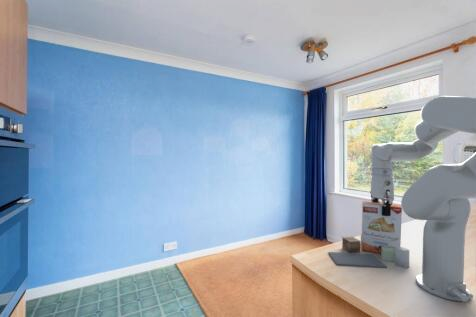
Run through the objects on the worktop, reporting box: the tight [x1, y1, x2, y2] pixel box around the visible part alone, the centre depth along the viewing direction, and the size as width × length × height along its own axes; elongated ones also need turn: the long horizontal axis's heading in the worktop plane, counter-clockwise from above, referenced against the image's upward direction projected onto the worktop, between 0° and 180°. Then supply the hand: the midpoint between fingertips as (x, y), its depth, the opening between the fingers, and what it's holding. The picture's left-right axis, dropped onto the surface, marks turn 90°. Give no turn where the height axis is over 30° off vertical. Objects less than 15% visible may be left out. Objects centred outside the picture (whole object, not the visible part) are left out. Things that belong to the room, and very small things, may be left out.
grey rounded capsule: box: [394, 246, 410, 269], centre depth 84 cm, size 4×4×6 cm
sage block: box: [380, 246, 395, 263], centre depth 89 cm, size 4×4×4 cm
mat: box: [328, 251, 388, 269], centre depth 87 cm, size 10×18×1 cm, turn 84°
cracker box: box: [360, 201, 403, 254], centre depth 95 cm, size 14×6×21 cm, turn 62°
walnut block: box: [341, 236, 361, 253], centre depth 97 cm, size 5×5×5 cm
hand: (380, 212), depth 95 cm, fingers closed on cracker box, 7 cm apart
